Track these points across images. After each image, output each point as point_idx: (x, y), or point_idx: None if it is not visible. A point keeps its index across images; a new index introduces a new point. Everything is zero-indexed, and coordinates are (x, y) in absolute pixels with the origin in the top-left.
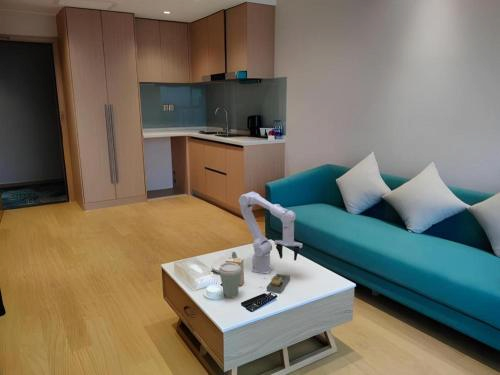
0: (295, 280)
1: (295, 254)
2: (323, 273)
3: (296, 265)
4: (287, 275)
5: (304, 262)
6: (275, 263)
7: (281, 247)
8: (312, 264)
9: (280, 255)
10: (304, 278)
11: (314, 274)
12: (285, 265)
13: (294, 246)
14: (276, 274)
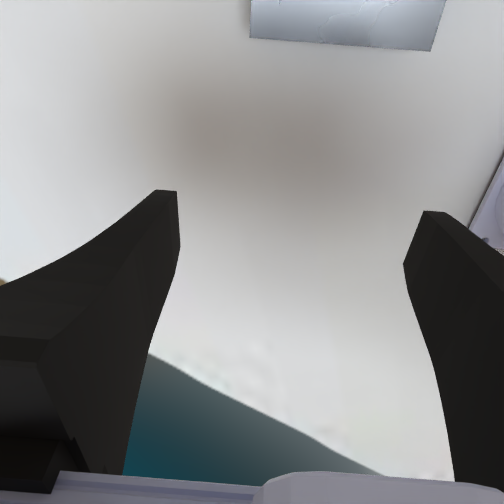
0: (186, 27)
1: (95, 251)
2: (14, 244)
3: (260, 320)
4: (281, 26)
5: (217, 363)
6: None
7: (499, 430)
8: (155, 349)
9: (462, 241)
10: (114, 109)
11: (69, 213)
12: (346, 306)
13: (86, 480)
14: (439, 16)
